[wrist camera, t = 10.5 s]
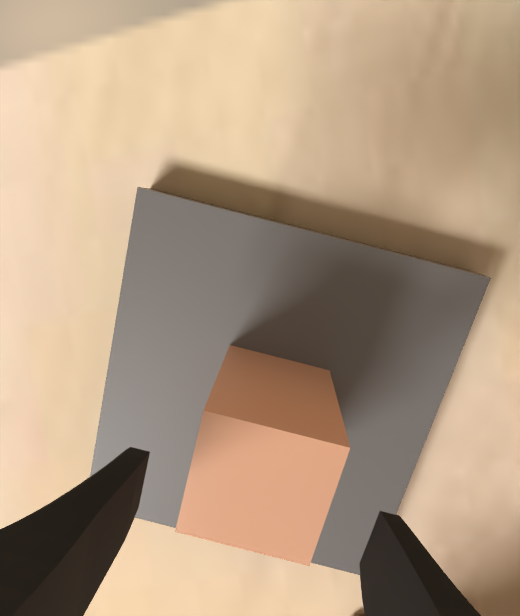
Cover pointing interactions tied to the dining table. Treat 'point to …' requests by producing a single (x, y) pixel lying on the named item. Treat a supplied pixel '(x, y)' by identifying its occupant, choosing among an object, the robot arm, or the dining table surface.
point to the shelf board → (279, 348)
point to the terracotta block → (265, 457)
